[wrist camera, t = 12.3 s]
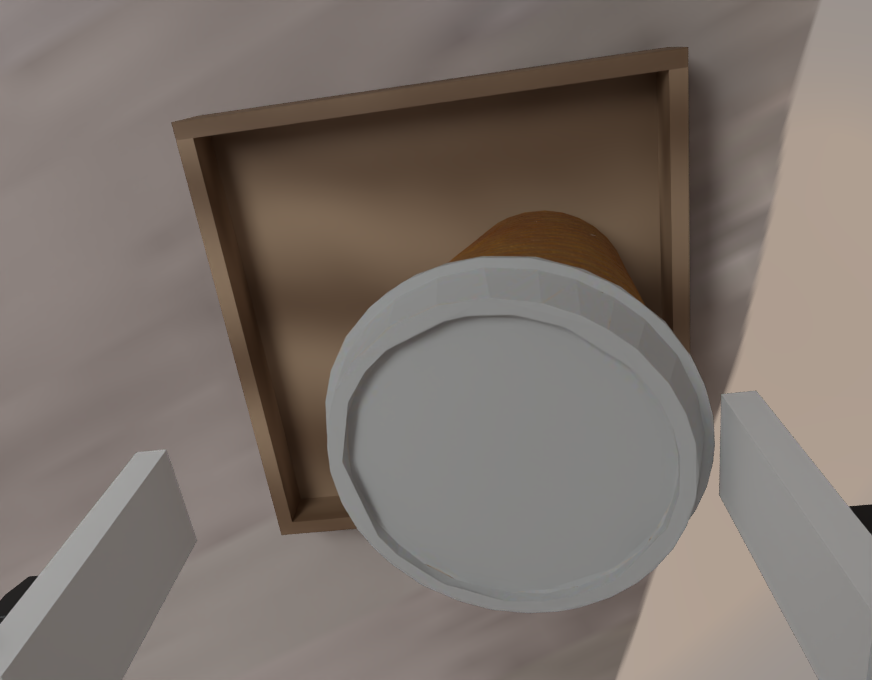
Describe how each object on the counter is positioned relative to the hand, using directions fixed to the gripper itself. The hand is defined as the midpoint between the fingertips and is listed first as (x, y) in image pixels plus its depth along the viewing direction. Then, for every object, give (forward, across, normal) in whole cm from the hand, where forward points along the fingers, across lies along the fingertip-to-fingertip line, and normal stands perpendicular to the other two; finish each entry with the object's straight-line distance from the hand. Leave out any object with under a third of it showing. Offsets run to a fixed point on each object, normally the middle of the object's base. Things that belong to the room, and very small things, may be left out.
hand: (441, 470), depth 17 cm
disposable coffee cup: (+12, +4, 0) cm, 12 cm away
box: (+13, 0, -1) cm, 13 cm away
